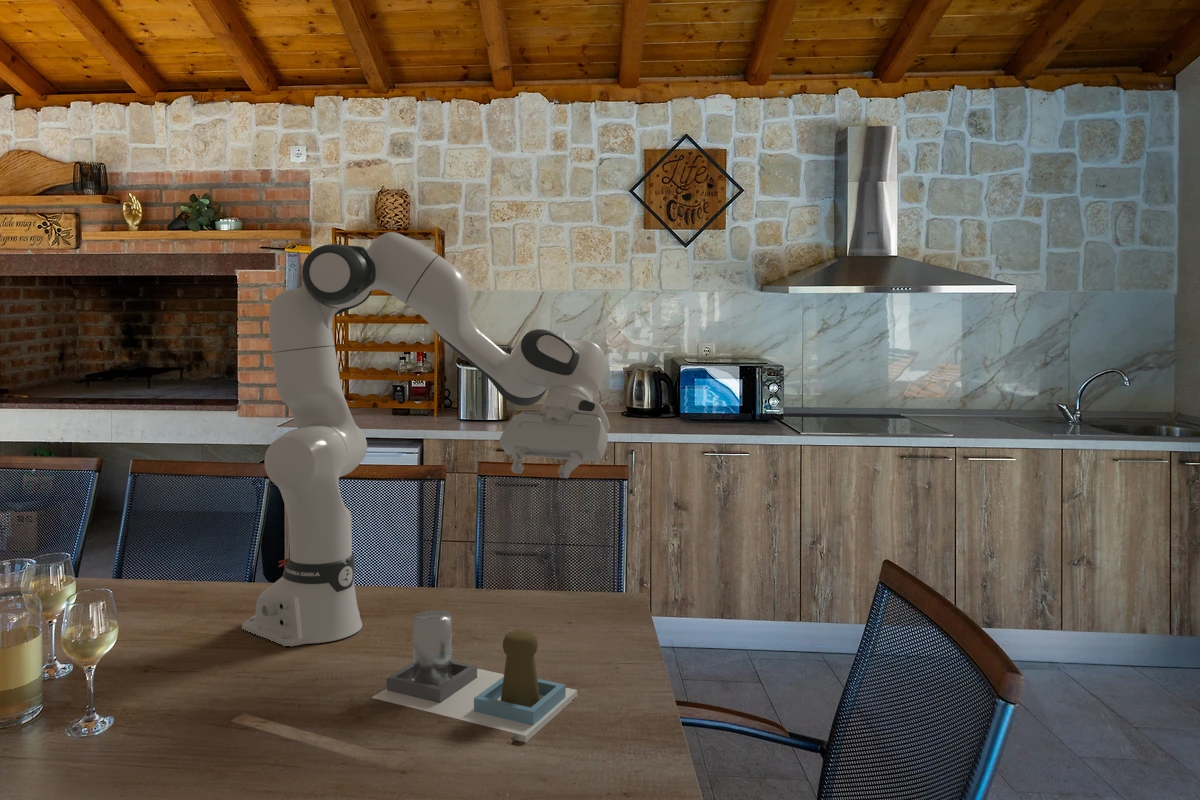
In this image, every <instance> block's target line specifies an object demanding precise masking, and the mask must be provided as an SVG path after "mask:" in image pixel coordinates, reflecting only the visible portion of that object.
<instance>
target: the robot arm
mask: <svg viewBox="0 0 1200 800" xmlns="http://www.w3.org/2000/svg"><path fill="white" fill-rule="evenodd" d="M301 278H302V281H303V282H302V283H303V285H302V286H300V287H298V288H291V289H287V290H284V291H282V292H280V293H278V294H276V296H274V297H273V298H272V300H271V302H270V306H269V317H268V318H269V319H268V321H269V322H268V323H269V325H268V327H269V328H268V329H269V342H270V343H269V344H270V351H271V356H272V357H271V358H272V365H273V371H274V378H275V385H276V392H277V395H278V397H279V398H280V400H281V401H282V402H283V403H284V404H285V405H286V406H287V407H288V409H289V411H290V413H291V415H292V417H293V421H294V422H295V425H296V427H297V428H294V429H292V430H289V431H287V432H285V433H284V434H282V435H280V436H279V437H278V438H277V439H276V440H274V441H273V442H272V443H271V444H269V446H268V448H267V450H266V452H265V454H264V469H265V473H266V475H267V477H268V478H269V480H270V481H271V482H272V483H273V485H275V486H276V487H278V490H279V491H280V494H281V497H282V500H283V503H284V507H285V509H286V511H285V512H286V515H287V521H288V537H289V538H288V541H289V556H288V557H287V558H286V559H282V560H279V561H278V563H280V564H279V565H278V568H282V567H284V569H283V573H282V576H281V577H280V578H279V579H277V580H276V581H275V582H273V584H271V585H270V586H268V587H267V588H266V589H264V591H262V592H261V593H260V595H259V596H258V598H257V600H256V605H255V615H252V616H251V617H249V618H248V619H246V620H245V621H244V622H243V623H242V625H241V630H243V629H244V630H243V631H245V630H246V631H245V632H247V631H248V632H247V633H249V632H251V633H250V634H252V633H253V635H254V634H256V635H255V636H257V635H258V636H257V637H259V636H261V637H260V638H262V637H264V638H267V639H269V640H271V641H270V642H272V641H274V642H276V643H275V644H277V643H278V644H277V645H279V644H281V645H280V646H282V645H283V646H282V647H285V646H290V647H295V646H300V645H306V644H320V643H328V642H333V641H338V640H342V639H345V638H348V637H351V636H353V635H354V634H356V633H357V632H359V631H360V630H361V629H362V627H363V622H362V620H361V616H360V615H361V614H360V610H359V607H358V601H357V600H358V599H357V595H356V587H355V581H354V580H355V578H354V577H355V573H356V568H355V567H356V566H355V564H356V560H355V553H354V552H353V540H352V539H353V538H352V537H353V535H352V533H353V532H352V530H353V529H352V514H351V511H350V510H349V509H348V507H346V505H345V504H344V500H343V497H342V494H341V490H340V485H339V479H340V478H342V477H343V476H346V475H349V474H350V473H352V472H353V471H354V470H355V469H356V468H357V467H358V466H359V465H360V464H361V463H362V462H363V460H364V459H365V458H366V455H367V450H368V442H367V439H366V435H365V433H364V432H363V431H362V430H361V428H359V426H358V425H357V424H356V422H355V420H354V418H353V416H352V413H351V410H350V408H349V406H348V402H347V400H346V397H345V394H344V391H343V388H342V383H341V378H340V371H339V366H338V365H339V364H338V359H337V352H336V346H335V340H334V332H333V320H334V316H338V315H341V314H342V313H344V312H345V313H346V312H347V311H349V310H351V309H354V308H356V307H357V308H358V306H360V305H362V304H363V303H365V302H366V301H367V300H368V299H369V297H370V296H371V294H372V292H373V291H382V292H386V293H388V294H389V295H392V296H393V297H395V298H396V299H398V300H399V301H401V302H402V303H403V304H405V305H407V306H408V307H410V308H411V309H412V310H413V311H415V312H416V313H417V314H418V315H420V316H421V318H423V319H424V320H425V321H426V322H427V323H428V324H429V325H430V326H431V327H432V329H433V331H434V332H435V333H436V334H437V336H438V337H439V338H440V339H441V340H442V341H443V342H444V343H445V344H446V345H447V346H449V347H450V348H451V349H452V350H453V351H455V352H456V353H457V354H458V355H459V356H460V357H462V359H464V360H465V361H467V363H469V364H470V365H471V366H473V368H475V369H476V370H478V371H479V373H481V374H482V375H484V376H485V378H487V379H488V380H489V381H490V382H491V383H492V385H493V386H494V387H495V389H496V390H497V391H498V392H499V394H500V395H501V396H502V397H503V399H505V400H506V401H508V402H509V403H511V404H514V405H517V406H522V407H526V406H532V405H534V404H537V403H538V402H539V401H540V400H542V398H543V397H544V395H545V394H546V392H547V391H548V392H547V394H546V397H545V399H544V401H543V403H542V405H541V407H540V410H539V411H528V410H524V411H521V412H519V413H517V414H514V415H513V416H512V418H511V420H510V421H509V422H508V424H507V426H506V427H505V429H503V432H502V434H501V435H500V437H499V444H500V447H501V448H502V450H503V451H504V453H506V455H512V459H513V463H512V464H511V467H510V469H511V472H512V473H513V474H520V475H522V474H523V471H524V470H525V465H524V464H523V462H522V461H521V460H523V459H524V457H525V456H526V457H536V458H548V459H558V460H559V459H561V460H568V461H567V462H566V463H565V464H560V465H559V469H558V470H557V475H559V478H561V479H569V478H570V475H571V473H572V472H573V471H574V470H575V469H576V468H578V467H579V466H580V465H581V462H582V461H586V462H599V461H600V460H601V459H603V457H604V455H605V453H606V449H607V446H608V440H609V435H608V433H609V432H610V429H611V425H610V421H609V418H608V416H607V413H606V412H605V410H604V409H603V407H602V406H601V404H600V403H597V402H595V401H594V399H596V397H597V396H598V394H599V392H600V389H601V386H602V384H603V381H604V378H605V373H606V371H607V359H606V355H605V352H604V351H603V349H602V348H601V347H600V346H599V345H597V343H595V342H593V341H591V340H588V339H583V338H582V339H581V338H580V339H575V340H574V339H567V338H563V337H562V336H561V337H560V336H559V335H558V334H556V333H554V332H553V331H551V330H547V329H541V328H537V329H533V330H530V331H528V332H526V333H525V334H524V335H523V337H522V338H521V340H520V341H519V343H518V344H516V346H515V348H514V350H513V351H512V353H511V354H510V353H507V352H506V351H505V350H503V349H502V348H501V347H499V346H498V345H497V344H496V343H495V342H493V341H492V340H491V339H490V338H489V337H488V336H486V335H485V334H484V333H483V332H482V331H480V330H479V328H478V327H477V326H476V325H475V323H474V321H473V319H472V316H471V310H470V291H469V285H468V282H467V279H466V277H465V276H464V274H463V273H462V272H461V271H460V270H459V269H458V268H457V267H456V266H455V265H453V264H452V262H450V261H448V260H447V259H445V258H444V257H442V256H441V255H439V254H438V253H436V252H435V251H433V250H432V249H430V248H429V247H427V246H425V245H423V244H422V243H420V242H418V241H416V240H414V239H412V238H410V237H408V236H405V235H403V234H401V233H398V232H395V231H394V232H393V231H388V232H385V233H382V234H381V235H379V236H378V237H376V238H375V240H374V241H372V243H371V244H370V245H369V247H368V248H365V247H363V246H360V245H347V244H341V243H339V244H338V243H330V244H323V245H321V246H318V247H317V248H314V249H313V250H312V251H310V253H308V255H307V256H306V258H305V259H304V261H303V263H302V268H301ZM264 638H263V639H264ZM267 639H266V640H267ZM269 640H268V641H269ZM274 642H273V643H274Z"/></svg>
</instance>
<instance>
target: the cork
mask: <svg viewBox="0 0 1200 800" xmlns="http://www.w3.org/2000/svg"><path fill="white" fill-rule="evenodd" d="M538 647H539V641H538V638H537V636H536V634H535V633H533V632H532V631H530V630H525V629H519V630H513V631H510V632H508V633H507V634H506V635H505V636H504V638H503V641H502V649H503V652H504V654H505V655H506V658H505V665H504V672H503V674H504V679H503V686H502V694H501V701H504V702H508V703H513V704H517V705H521V706H526V707H530V708H531V707H532V706H533V705H535V704H536V703H537V702H538V701H539V700H540V696H539V688H538V680H537V679H538V674H537V668H536V667H537V666H536V658H535V654H536V653H537V650H538Z"/></svg>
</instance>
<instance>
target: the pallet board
mask: <svg viewBox="0 0 1200 800" xmlns="http://www.w3.org/2000/svg"><path fill="white" fill-rule="evenodd" d="M503 679H504V673H499V672H495V671H491V670H490V671H489V670H486V669H480V668H478V665H476V664H471V663H466V662H461V661H457V660H453V659H452V678H451V679H449V680H448V681H446V682H445V683H443V684H442V685H440V686H435V685H431V684H426V683H422V682H418V681H413V662H412V663H410V664H408V665H406V666H405V667H403V668H401V669H400V670H398V671H396V672H395V673H393V674H391V675H389V676H387V677H386V688H385V689H383V690H381V691H380V692H378V693H377V694H375V695H373V696H371V699H376V700H380V701H383V702H387V703H390V704H391V703H392V704H395V705H399V706H403V707H408V708H412V709H415V710H420V711H422V712H426V713H427V712H428V713H432V714H436V715H440V716H445V717H448V718H451V719H456V720H460V721H464V722H468V723H471V724H476V725H479V726H480V725H481V726H484V727H488V728H492V729H497V730H500V731H503V732H508V733H512V734H514V735H513V736H512V737H511V738H510V740H514V741H517V742H522V743H528V741H529V740H531V739H532V738H534V736H535V735H536V734H537V733H538V732H540V730H542V729H543V728H544V727H546V725H548V724H549V723H550V722H551V721H552V720H553V719H554V718H555V717H557V715H558V714H559V713H561V712H562V711H563V710H564V709H565V708H566V707H567V706H568V705H569V704H570V703H571V702H573V701H574V700H575V699H576V698H577V697H578V690H577V689H573V688H569V687H566V685H567V684H564V683H560V682H555V681H550V680H545V679H541V678H537V680H538V688H539V696H540V700H539V701H538V702H537V703H536V704H535V705H533V706H532V707H531V708H530V707H526V706H521V705H517V704H513V703H508V702H504V701H501V694H502V686H503ZM575 697H576V698H575ZM573 699H574V700H573ZM572 700H573V701H572ZM563 708H564V709H563Z"/></svg>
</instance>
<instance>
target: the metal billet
mask: <svg viewBox="0 0 1200 800" xmlns="http://www.w3.org/2000/svg"><path fill="white" fill-rule="evenodd" d="M452 618H453V616H452V613H451V612H450V611H447V610H443V609H427V610H422V611H419V612H416V613H414V614H413V616H412V663H413V681H418V682H422V683H426V684H431V685H435V686H440V685H442V684H443V683H445V682H446V681H448V680H449V679H451V678H452V660H453V619H452Z"/></svg>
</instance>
